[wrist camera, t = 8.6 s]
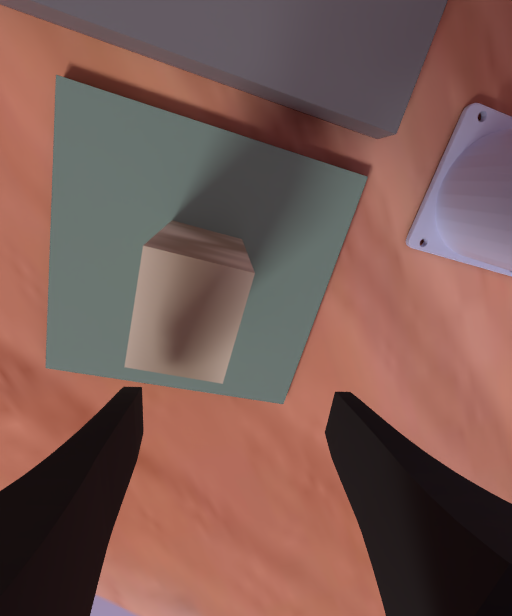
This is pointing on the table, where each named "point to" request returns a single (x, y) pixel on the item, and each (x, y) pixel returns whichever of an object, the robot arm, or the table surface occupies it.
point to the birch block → (189, 302)
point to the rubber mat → (192, 211)
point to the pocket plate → (276, 47)
